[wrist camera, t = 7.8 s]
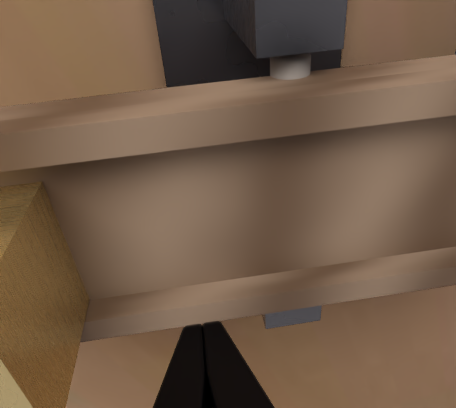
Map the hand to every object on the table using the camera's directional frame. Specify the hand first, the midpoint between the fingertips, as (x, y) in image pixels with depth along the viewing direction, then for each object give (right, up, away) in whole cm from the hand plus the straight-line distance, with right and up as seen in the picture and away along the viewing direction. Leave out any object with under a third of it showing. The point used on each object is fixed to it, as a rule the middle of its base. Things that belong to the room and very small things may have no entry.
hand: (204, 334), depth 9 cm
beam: (+2, +5, +7) cm, 9 cm away
